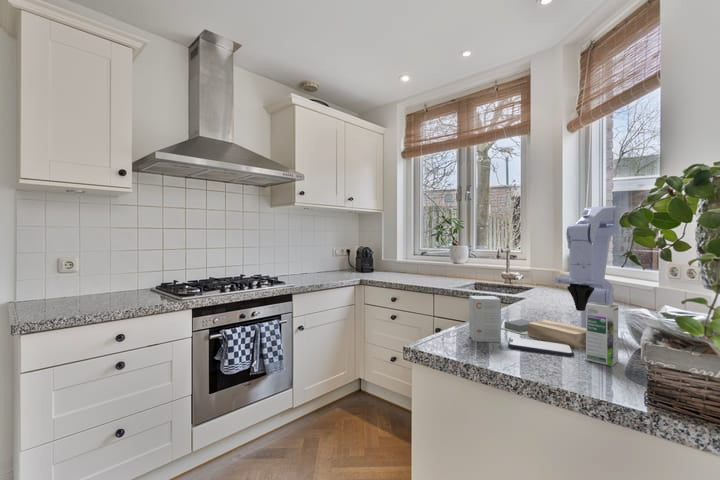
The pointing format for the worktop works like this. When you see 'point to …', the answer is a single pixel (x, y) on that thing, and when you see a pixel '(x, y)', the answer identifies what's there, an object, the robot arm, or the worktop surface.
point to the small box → (485, 318)
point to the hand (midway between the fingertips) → (580, 310)
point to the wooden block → (558, 333)
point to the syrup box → (602, 333)
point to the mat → (516, 331)
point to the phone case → (540, 347)
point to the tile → (517, 325)
